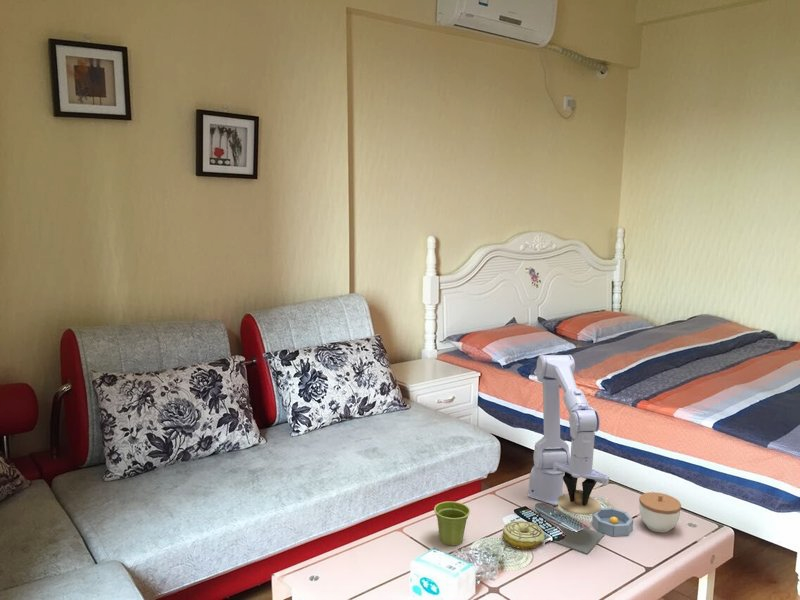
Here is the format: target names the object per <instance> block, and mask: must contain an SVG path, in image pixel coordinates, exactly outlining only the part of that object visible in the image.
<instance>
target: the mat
mask: <svg viewBox="0 0 800 600" xmlns="http://www.w3.org/2000/svg"><path fill="white" fill-rule="evenodd" d="M556 526H558V524H557V525H556ZM558 527H559V528H560V529H561V530H562V531H563V532H564V533H565V534H566V536H565V538H564V539H563V540H560V541H554V542H553V544H557V545H559V546H562V547H565V548H568V549H571V550H572V551H576V552H579V553H581V554H584V555H589V553H591V551H592V550H593V549H594V548H595V547H596V546H597V545H598V543H599V542H600V541H602V539H603V538H604V537H605V534H604V533H601V532H599V531H597V530H594V529H590V528H588V527H585V528H584V529H583V530H582V531H580V532H575V531H571V530H569V529H566V528H564V527H561V526H558Z"/></svg>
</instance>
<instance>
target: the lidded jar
mask: <svg viewBox="0 0 800 600" xmlns="http://www.w3.org/2000/svg"><path fill="white" fill-rule="evenodd" d="M638 499H639V505H638V506H639V507H638V509H639V516H640V519H641V520H642V522H643V523H644V525H645V526H646V527H647V529H649V530H650V531H653V532H656V533H659V534H660V533H661V534H662V533H668V532H669V531H671V530H672V529H674V528H675V526H677V524H678V523H679V522H678V521H679V519H680V515H681V509H682V504H681V502H680V500H678V499H677V498H675V497H674V496H671V495H669V494H666V493H662V492H655V491H654V492H645V493H642V494H641V495H640V496H639V498H638Z"/></svg>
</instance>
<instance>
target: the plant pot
mask: <svg viewBox="0 0 800 600" xmlns="http://www.w3.org/2000/svg"><path fill="white" fill-rule="evenodd" d="M433 509H434V510H433V511H434V513H435V516H436V520H437V527H438V528H437V529H438V535H439V536H438V537H439V541H440V542H441V543H442V544H444V545H447V546H455V545H456V546H458V545H461V544H462V543H463V540H464V535H465V529H466V525H467V520H468V518H469V516H470V515H471V509H470V508H469V506H467V505H466V504H465V503H463V502H462V503H461V502H457V501H442V502H440V503H437V504H435V506H434V508H433Z"/></svg>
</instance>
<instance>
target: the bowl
mask: <svg viewBox="0 0 800 600" xmlns="http://www.w3.org/2000/svg"><path fill="white" fill-rule="evenodd" d="M591 518H592V521H591V524H592V525H593V527H594V528H595V530H596V531H597V532H600V533H602V534H604V535H606V536H607V535H608V536H611V537H627V536H629V534H631V532H632V531H633V529H634V518H633V517H632V516H631V515H630V514H629V513H628V512H627V511H624V510H620V509H617V508H616V507H615V508H614V507H601V508H600V511H599V512H597V513H595V514H592V517H591Z"/></svg>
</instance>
